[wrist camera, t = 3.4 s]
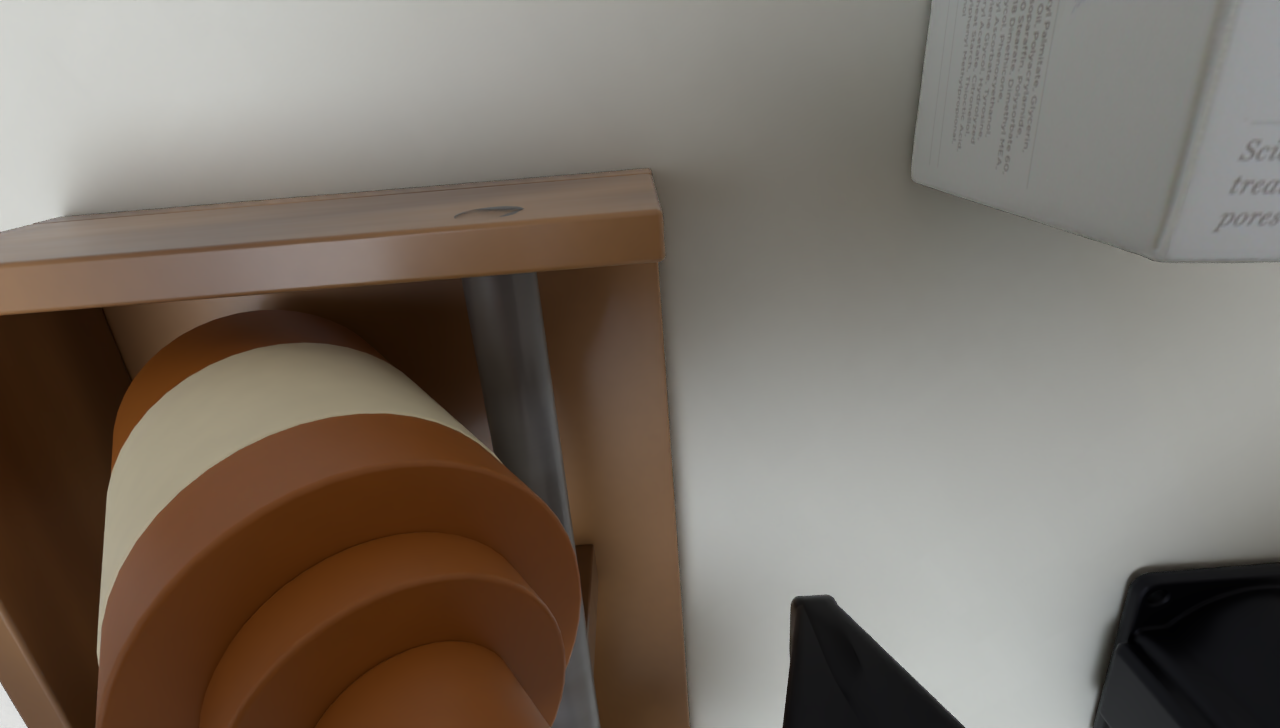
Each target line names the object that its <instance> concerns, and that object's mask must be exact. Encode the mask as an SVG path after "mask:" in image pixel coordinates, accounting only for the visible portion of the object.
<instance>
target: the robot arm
mask: <svg viewBox="0 0 1280 728" xmlns="http://www.w3.org/2000/svg"><path fill="white" fill-rule="evenodd" d="M783 728H965V727H964V726H963V725H962V724H961V723H960V722H959V721H958V720H957V719H956V718H955V717H954V716H953V715H952V714H951V713H950V712H948V711H947V710H946V709H945V708H944V707H943V706H942V705H941V704H940V703H939V702H938V701H937V700H936V699H935V698H934V697H933V696H932V695H931V694H930V693H929V692H928V691H927V690H926V689H925V688H924V687H923V686H921V685H920V684H919V683H918V682H917V681H916V680H915V679H914V678H913V677H912V676H911V675H910V674H909V673H908V672H907V671H906V670H905V669H904V668H903V667H902V666H901V665H900V664H899V663H898V662H897V661H896V660H894V659H893V658H892V657H891V656H890V655H889V654H888V653H887V652H886V651H885V650H884V649H883V648H882V647H881V646H880V645H879V644H878V643H877V642H876V641H875V640H874V639H873V638H872V637H871V636H870V635H869V634H867V633H866V632H865V631H864V630H863V629H862V628H861V627H860V626H859V625H858V624H857V623H856V622H855V621H854V620H853V619H852V618H851V617H850V616H849V615H848V614H847V613H846V612H845V611H844V610H843V609H841V608H840V607H839V606H838V604H837V602H836V601H835V599H834V598H833V597H832V596H830V595H812V596H798V597H795V598H794V599H793V600H792V602H791V612H790V668H789V677H788V686H787V694H786V703H785V712H784V721H783ZM1093 728H1280V563H1272V564H1259V565H1245V566H1232V567H1219V568H1206V569H1193V570H1180V571H1167V572H1153V573H1147V574H1143V575H1141V576H1140V577H1138V578H1136V579H1135V580H1134V581H1133V582H1132V583H1131V585H1130V587H1129V589H1128V593H1127V597H1126V601H1125V605H1124V609H1123V613H1122V617H1121V621H1120V625H1119V628H1118V632H1117V636H1116V640H1115V644H1114V648H1113V652H1112V656H1111V660H1110V664H1109V667H1108V671H1107V675H1106V679H1105V683H1104V687H1103V691H1102V695H1101V699H1100V703H1099V706H1098V710H1097V714H1096V718H1095V722H1094V726H1093Z"/></svg>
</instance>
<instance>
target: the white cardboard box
mask: <svg viewBox="0 0 1280 728" xmlns="http://www.w3.org/2000/svg"><path fill="white" fill-rule="evenodd" d="M911 178H912V180H913V181H914V182H916V183H919V184H921V185H924V186H927V187H930V188H934V189H937V190H940V191H943V192H946V193H949V194H951V195H955V196H958V197H961V198H964V199H967V200H970V201H973V202H977V203H980V204H983V205H986V206H989V207H992V208H995V209H998V210H1001V211H1005V212H1008V213H1011V214H1014V215H1017V216H1020V217H1023V218H1027V219H1030V220H1033V221H1036V222H1040V223H1042V224H1045V225H1048V226H1051V227H1054V228H1057V229H1060V230H1064V231H1067V232H1070V233H1073V234H1077V235H1080V236H1083V237H1085V238H1088V239H1091V240H1095V241H1099V242H1102V243H1105V244H1108V245H1111V246H1114V247H1117V248H1120V249H1123V250H1125V251H1129V252H1132V253H1135V254H1138V255H1141V256H1143V257H1146V258H1148V259H1150V260H1153V261H1157V262H1170V263H1178V262H1186V263H1254V262H1280V0H932V3H931V13H930V20H929V27H928V35H927V43H926V50H925V57H924V65H923V73H922V83H921V89H920V99H919V105H918V115H917V121H916V128H915V136H914V147H913V154H912V164H911Z"/></svg>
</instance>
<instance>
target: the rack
mask: <svg viewBox="0 0 1280 728" xmlns="http://www.w3.org/2000/svg"><path fill="white" fill-rule="evenodd" d="M665 256H666V253H665V237H664V221H663V212H662V209H661V205H660V202H659V198H658V195H657V191H656V187H655V184H654V180H653V176H652V172H651V169H649V168H644V169H632V170H620V171H608V172H596V173H584V174H572V175H560V176H548V177H536V178H523V179H511V180H499V181H487V182H475V183H463V184H451V185H439V186H427V187H415V188H403V189H391V190H379V191H366V192H354V193H342V194H330V195H318V196H306V197H294V198H282V199H270V200H258V201H246V202H234V203H222V204H210V205H197V206H185V207H173V208H161V209H149V210H137V211H125V212H113V213H101V214H89V215H77V216H65V217H58V218H54V219H50V220H46V221H42V222H38V223H34V224H32V225H27V226H23V227H19V228H15V229H11V230H7V231H3V232H0V682H1V684H2V686H3V687H4V689H5V691H6V692H7V694H8V696H9V697H10V699H11V701H12V702H13V704H14V706H15V707H16V709H17V711H18V712H19V714H20V716H21V717H22V719H23V721H24V722H25V724H26V726H27V727H28V728H95V724H96V707H97V691H98V675H99V665H98V658H97V636H98V618H99V604H100V589H101V574H102V560H103V545H104V531H105V516H106V502H107V491H108V487H109V482H110V478H111V463H112V447H113V431H114V425H115V421H116V416H117V412H118V409H119V407H120V404H121V402H122V400H123V397H124V395H125V393H126V391H127V390H128V388H129V386H130V384H131V383H132V381H133V379H134V378H135V377H136V375H137V374H138V373H139V372H140V370H141V369H142V368H143V367H144V366H145V364H146V363H147V362H148V361H149V360H150V359H151V358H152V357H153V356H154V355H156V354H157V353H158V352H159V351H160V350H161V349H162V348H163V347H165V346H166V345H168V344H169V343H170V342H172V341H173V340H175V339H176V338H177V337H179V336H181V335H182V334H184V333H186V332H188V331H190V330H192V329H194V328H195V327H197V326H200V325H202V324H205V323H207V322H210V321H212V320H215V319H218V318H221V317H225V316H229V315H233V314H236V313H243V312H250V311H256V310H286V311H297V312H302V313H307V314H312V315H316V316H319V317H322V318H325V319H328V320H331V321H333V322H335V323H337V324H339V325H341V326H344V327H346V328H347V329H349V330H351V331H352V332H354V333H355V334H357V335H358V336H360V337H361V338H362V339H364V340H365V341H366V342H367V343H368V344H369V345H371V346H372V347H373V348H374V349H375V350H376V351H377V352H378V353H380V354H381V355H382V356H383V357H384V358H385V359H386V360H387V361H389V362H390V363H391V364H392V365H393V366H394V367H395V368H397V369H398V370H400V371H401V372H403V373H404V374H405V375H406V376H407V377H408V378H410V379H411V380H412V381H413V382H414V383H416V384H417V385H418V386H419V387H420V388H421V389H422V390H423V391H424V392H426V393H427V394H428V395H429V396H430V397H431V398H432V399H433V400H435V401H436V402H437V403H438V404H439V405H440V406H441V407H442V408H444V409H445V410H446V411H447V412H448V413H449V414H450V415H451V416H453V417H454V418H455V419H456V420H457V421H458V422H459V423H460V424H462V425H463V426H464V427H465V428H466V429H467V430H468V431H469V432H471V433H472V434H473V435H474V436H475V437H476V438H477V439H478V440H480V441H481V442H482V443H483V444H484V445H485V446H486V447H487V448H489V449H490V450H491V451H492V452H493V453H494V454H495V455H496V456H497V458H498V459H499V460H500V461H501V462H502V463H503V465H504V466H505V467H507V468H508V469H509V470H510V471H511V472H512V473H513V474H514V475H515V476H517V477H518V478H519V479H520V480H521V481H522V482H523V483H524V484H525V485H527V486H528V487H529V488H530V489H531V490H532V491H533V492H534V493H535V494H537V495H538V496H539V497H540V498H541V499H542V500H543V501H544V502H545V503H546V504H547V505H548V506H549V508H550V509H551V510H552V511H553V512H554V513H555V515H556V516H557V517H558V519H559V520H560V522H561V524H562V525H563V527H564V529H565V531H566V532H567V534H568V536H569V539H570V541H571V544H572V547H573V549H574V552H575V555H576V559H577V564H578V569H579V574H580V584H581V609H580V620H579V626H578V631H577V636H576V641H575V644H574V647H573V651H572V654H571V657H570V660H569V663H568V666H567V668H566V671H565V684H564V689H563V694H562V699H561V702H560V706H559V709H558V712H557V715H556V718H555V720H554V723H553V725H552V727H551V728H690V717H689V702H688V688H687V673H686V659H685V644H684V629H683V615H682V600H681V585H680V571H679V556H678V542H677V527H676V512H675V498H674V483H673V469H672V454H671V439H670V425H669V410H668V395H667V381H666V366H665V352H664V337H663V322H662V308H661V293H660V279H659V264H658V262H661V261H663V260H664V259H665Z"/></svg>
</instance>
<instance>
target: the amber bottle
mask: <svg viewBox="0 0 1280 728" xmlns="http://www.w3.org/2000/svg"><path fill="white" fill-rule="evenodd" d="M580 609H581V584H580V574H579V569H578V564H577V559H576V555H575V552H574V549H573V547H572V544H571V541H570V539H569V536H568V534H567V532H566V531H565V529H564V527H563V525H562V524H561V522H560V520H559V519H558V517H557V516H556V515H555V513H554V512H553V511H552V510H551V509H550V508H549V506H548V505H547V504H546V503H545V502H544V501H543V500H542V499H541V498H540V497H539V496H538V495H537V494H535V493H534V492H533V491H532V490H531V489H530V488H529V487H528V486H527V485H525V484H524V483H523V482H522V481H521V480H520V479H519V478H518V477H517V476H515V475H514V474H513V473H512V472H511V471H510V470H509V469H508V468H507V467H505V466H504V465H503V463H502V462H501V461H500V460H499V459H498V458H497V456H496V455H495V454H494V453H493V452H492V451H491V450H490V449H489V448H487V447H486V446H485V445H484V444H483V443H482V442H481V441H480V440H478V439H477V438H476V437H475V436H474V435H473V434H472V433H471V432H469V431H468V430H467V429H466V428H465V427H464V426H463V425H462V424H460V423H459V422H458V421H457V420H456V419H455V418H454V417H453V416H451V415H450V414H449V413H448V412H447V411H446V410H445V409H444V408H442V407H441V406H440V405H439V404H438V403H437V402H436V401H435V400H433V399H432V398H431V397H430V396H429V395H428V394H427V393H426V392H424V391H423V390H422V389H421V388H420V387H419V386H418V385H417V384H416V383H414V382H413V381H412V380H411V379H410V378H408V377H407V376H406V375H405V374H404V373H403V372H401V371H400V370H398V369H397V368H395V367H394V366H393V365H392V364H391V363H390V362H389V361H387V360H386V359H385V358H384V357H383V356H382V355H381V354H380V353H378V352H377V351H376V350H375V349H374V348H373V347H372V346H371V345H369V344H368V343H367V342H366V341H365V340H364V339H362V338H361V337H360V336H358V335H357V334H355V333H354V332H352V331H351V330H349V329H347V328H346V327H344V326H341V325H339V324H337V323H335V322H333V321H331V320H328V319H325V318H322V317H319V316H316V315H312V314H307V313H302V312H297V311H286V310H256V311H250V312H243V313H236V314H233V315H229V316H225V317H221V318H218V319H215V320H212V321H210V322H207V323H205V324H202V325H200V326H197V327H195V328H194V329H192V330H190V331H188V332H186V333H184V334H182V335H181V336H179V337H177V338H176V339H175V340H173V341H172V342H170V343H169V344H168V345H166V346H165V347H163V348H162V349H161V350H160V351H159V352H158V353H157V354H156V355H154V356H153V357H152V358H151V359H150V360H149V361H148V362H147V363H146V364H145V366H144V367H143V368H142V369H141V370H140V372H139V373H138V374H137V375H136V377H135V378H134V379H133V381H132V383H131V384H130V386H129V388H128V390H127V391H126V393H125V395H124V397H123V400H122V402H121V404H120V407H119V409H118V412H117V416H116V421H115V425H114V431H113V447H112V463H111V478H110V482H109V487H108V491H107V502H106V516H105V531H104V545H103V560H102V574H101V589H100V604H99V618H98V636H97V658H98V665H99V675H98V691H97V707H96V724H95V728H551V727H552V725H553V723H554V720H555V718H556V715H557V712H558V709H559V706H560V702H561V699H562V694H563V689H564V684H565V671H566V668H567V666H568V663H569V660H570V657H571V654H572V651H573V647H574V644H575V641H576V636H577V631H578V626H579V620H580Z"/></svg>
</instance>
